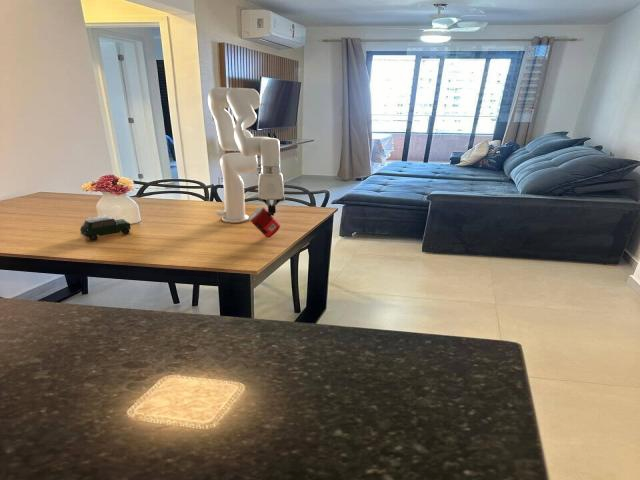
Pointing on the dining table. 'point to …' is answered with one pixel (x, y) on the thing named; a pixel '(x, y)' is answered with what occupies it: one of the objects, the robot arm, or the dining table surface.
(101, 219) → the miniature car
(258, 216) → the canned food
